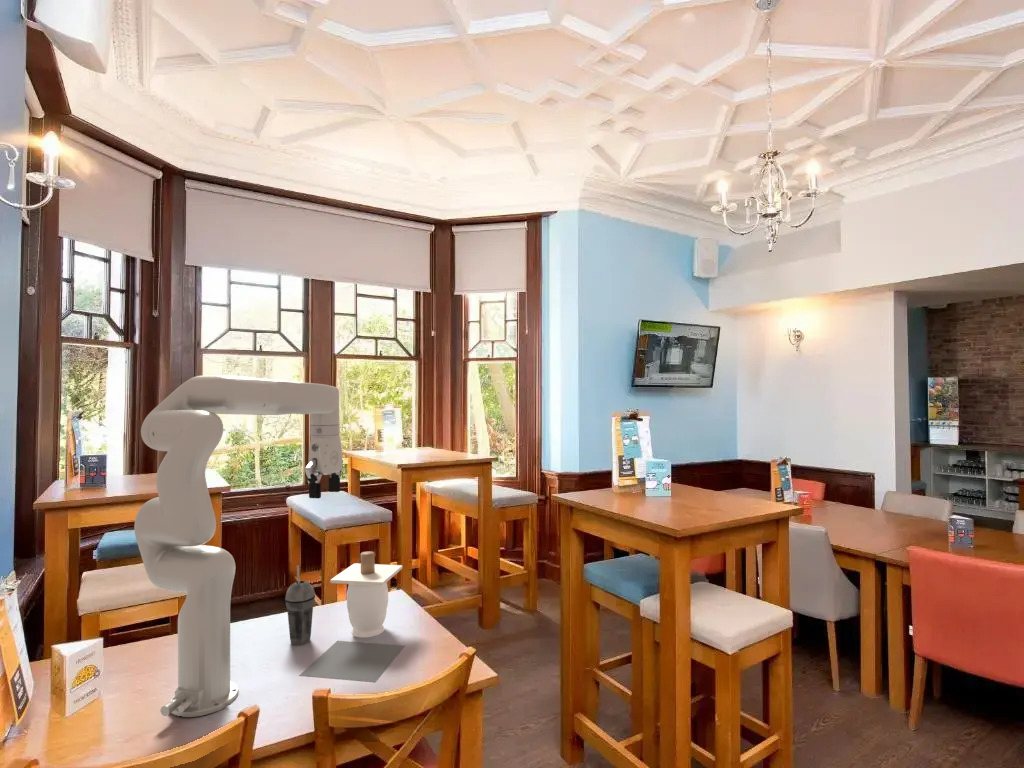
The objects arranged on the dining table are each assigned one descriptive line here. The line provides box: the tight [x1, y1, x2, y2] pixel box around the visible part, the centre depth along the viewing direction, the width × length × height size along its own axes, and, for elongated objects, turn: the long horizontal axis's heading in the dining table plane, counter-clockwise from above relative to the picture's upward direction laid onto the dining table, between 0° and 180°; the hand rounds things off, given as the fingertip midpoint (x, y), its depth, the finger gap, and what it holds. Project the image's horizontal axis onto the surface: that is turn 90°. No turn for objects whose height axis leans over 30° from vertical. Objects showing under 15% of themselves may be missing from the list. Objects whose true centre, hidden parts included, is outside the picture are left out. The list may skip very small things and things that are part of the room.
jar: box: [346, 582, 389, 638], centre depth 152 cm, size 11×10×15 cm
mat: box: [298, 640, 406, 683], centre depth 135 cm, size 18×18×1 cm
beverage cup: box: [284, 565, 316, 647], centre depth 145 cm, size 7×7×20 cm
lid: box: [329, 551, 403, 586], centre depth 152 cm, size 14×14×6 cm
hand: (325, 494), depth 156 cm, fingers open, 9 cm apart
